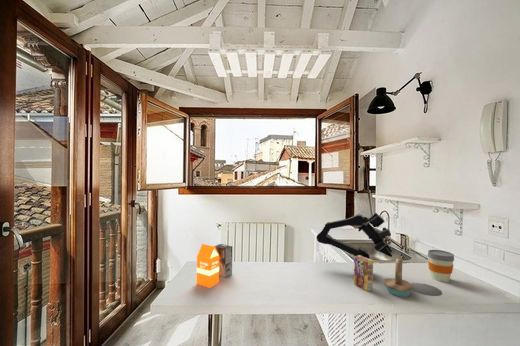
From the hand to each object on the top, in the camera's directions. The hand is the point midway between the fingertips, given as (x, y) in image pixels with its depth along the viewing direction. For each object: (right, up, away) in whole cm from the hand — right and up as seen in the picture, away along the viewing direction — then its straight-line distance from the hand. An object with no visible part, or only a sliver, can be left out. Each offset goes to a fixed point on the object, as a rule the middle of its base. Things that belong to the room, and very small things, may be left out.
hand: (391, 254), depth 154 cm
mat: (+10, -14, -14) cm, 22 cm away
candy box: (-21, -14, -12) cm, 28 cm away
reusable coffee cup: (+27, -14, 0) cm, 31 cm away
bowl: (-5, -14, -18) cm, 23 cm away
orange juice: (-102, -12, -12) cm, 104 cm away
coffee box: (-96, -12, +1) cm, 97 cm away
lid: (-5, -10, -18) cm, 21 cm away
